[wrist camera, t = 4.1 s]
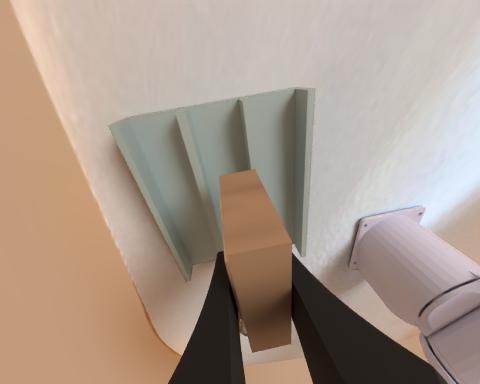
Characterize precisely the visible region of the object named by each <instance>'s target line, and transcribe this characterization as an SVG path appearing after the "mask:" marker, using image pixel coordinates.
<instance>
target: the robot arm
mask: <svg viewBox="0 0 480 384" xmlns="http://www.w3.org/2000/svg"><path fill="white" fill-rule="evenodd" d="M424 212H425V208H424V207H423V206H418V207H413V208H408V209H404V210H399V211H394V212H389V213H384V214H380V215H375V216H370V217H365V218H363V219H361V221H360V224H359V228H358V232H357V236H356V240H355V244H354V248H353V252H352V256H351V260H350V264H349V268H350V269H352V270H353V269H358V270H359V272H360V273H361V274H362V275H363V277H364V278H365V279H366V281H367V282H368V283H369V284H370V286H371V287H372V288H373V290H374V291H375V292H376V293H377V295H378V296H379V297H380V299H381V300H382V301H383V302H384V304H385V305H386V306H387V307H388V308H389V310H390V311H391V312H392V313H394V314H395V315H396V316H397V317H399V318H400V319H402V320H403V321H405V322H407V323H409V324H411V325H414V326H417V327H418V328H419V329H420V331H421V333H420V336H419V338H420V343H421V346H422V348H423V352H424V354H425V356H426V358H427V360H428V362H429V363H427V362H426V361H424V360H423V359H421V358H419V357H418V356H416V355H415V354H413V353H412V352H410V351H409V350H407V349H406V348H404V347H403V346H401V345H400V344H398V343H397V342H395V341H394V340H392V339H391V338H390V337H388V336H387V335H385V334H384V333H382V332H381V331H380V330H378V329H377V328H375V327H374V326H373V325H371V324H370V323H369V322H367V321H366V320H365V319H363V318H362V317H361V316H359V315H358V314H357V313H356V312H354V311H353V310H352V309H350V308H349V307H348V306H347V305H346V304H344V303H343V302H342V301H341V300H340V299H338V298H337V297H336V296H335V295H334V294H333V293H331V292H330V291H329V290H328V289H327V288H326V287H325V286H324V285H323V284H322V283H321V282H320V281H318V280H317V279H316V278H315V277H314V276H313V275H312V274H311V273H310V272H309V271H308V269H307V268H306V267H305V266H304V265H303V264H302V263H301V262H300V261H299V260H298V259H297V258H296V256H295V255H294V254H293V253H292V299H291V317H292V319H293V322H294V325H295V327H296V330H297V333H298V336H299V339H300V343H301V346H302V349H303V352H304V355H305V359H306V362H307V365H308V368H309V372H310V375H311V378H312V381H313V384H480V265H478V264H477V263H475V262H474V261H472V260H471V259H470V258H468V257H467V256H465V255H464V254H462V253H461V252H459V251H458V250H456V249H455V248H454V247H452V246H451V245H449V244H448V243H446V242H445V241H443V240H442V239H440V238H439V237H438V236H436V235H435V234H433V233H432V232H430V231H429V230H427V229H426V228H424V227H423V226H422V225H420V224H419V222H420V220H421V218H422V216H423V214H424ZM168 384H246V383H245V375H244V368H243V360H242V352H241V344H240V332H239V313H238V308H237V304H236V300H235V297H234V293H233V290H232V286H231V283H230V279H229V275H228V272H227V268H226V265H225V260H224V251H220V252H218V253H217V257H216V263H215V268H214V272H213V276H212V280H211V283H210V287H209V290H208V294H207V296H206V299H205V302H204V305H203V308H202V311H201V314H200V316H199V319H198V321H197V324H196V326H195V329H194V331H193V333H192V336H191V338H190V340H189V342H188V344H187V347H186V349H185V351H184V353H183V355H182V357H181V359H180V362H179V364H178V365H177V367H176V369H175V371H174V373H173V375H172V377H171V379H170V381H169V383H168Z"/></svg>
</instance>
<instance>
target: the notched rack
mask: <svg viewBox="0 0 480 384" xmlns="http://www.w3.org/2000/svg"><path fill="white" fill-rule="evenodd" d="M315 91H316V89H313V88H300V87H296V88H290V89H284V90H279V91H273V92H267V93H262V94H256V95H250V96H245V97H239V98H233V99H228V100H222V101H216V102H211V103H205V104H200V105H194V106H188V107H183V108H177V109H171V110H166V111H160V112H154V113H149V114H143V115H137V116H132V117H127V118H124V119H122V120H120V121H117V122H115V123H113V124H111V125H108V127H109V129H110V131H111V133H112V135H113V137H114V139H115V141H116V143H117V145H118V147H119V149H120V151H121V153H122V155H123V157H124V159H125V161H126V163H127V165H128V167H129V169H130V171H131V173H132V175H133V177H134V179H135V181H136V183H137V185H138V187H139V189H140V191H141V193H142V195H143V197H144V199H145V201H146V203H147V205H148V207H149V209H150V211H151V213H152V215H153V217H154V219H155V221H156V223H157V225H158V227H159V229H160V231H161V233H162V235H163V237H164V239H165V241H166V243H167V245H168V247H169V249H170V251H171V253H172V255H173V257H174V259H175V261H176V263H177V265H178V267H179V269H180V271H181V273H182V275H183V277H184V279H185V281H186V282H188V281H191V274H192V265H194V264H199V263H204V262H208V261H213V260H216V257H217V253H218V252H220V251H224V247H223V235H222V222H221V210H220V199H221V193H220V182H219V176H220V175H226V174H231V173H236V172H242V171H247V170H252V169H255V170H256V172H257V174H258V176H259V178H260V180H261V182H262V184H263V186H264V188H265V190H266V192H267V194H268V196H269V198H270V200H271V202H272V204H273V206H274V208H275V209H276V211H277V213H278V215H279V217H280V219H281V221H282V223H283V225H284V227H285V229H286V231H287V233H288V235H289V237H290V239H291V241H292V244H295V246H296V248H297V250H298V252H299V254H300V256H301V257H305V256H306V244H307V227H308V210H309V193H310V176H311V159H312V142H313V125H314V108H315Z"/></svg>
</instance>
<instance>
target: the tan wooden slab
mask: <svg viewBox="0 0 480 384" xmlns="http://www.w3.org/2000/svg"><path fill="white" fill-rule="evenodd" d="M219 182H220V193H221V199H220V210H221V222H222V235H223V247H224V260H225V265H226V268H227V272H228V275H229V279H230V283H231V286H232V290H233V293H234V297H235V300H236V304H237V308H238V311H239V315H240V318H241V322H242V325H243V329H244V333H246V332H247V335H248V339H249V343H250V347H251V350H252V353H253V352H258V351H262V350H266V349H271V348H275V347H279V346H284V345H288V344H291V299H292V241H291V239H290V237H289V235H288V233H287V231H286V229H285V227H284V225H283V223H282V221H281V219H280V217H279V215H278V213H277V211H276V209H275V208H274V206H273V204H272V202H271V200H270V198H269V196H268V194H267V192H266V190H265V188H264V186H263V184H262V182H261V180H260V178H259V176H258V174H257V172H256V170H255V169H252V170H247V171H242V172H236V173H231V174H226V175H220V176H219Z"/></svg>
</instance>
